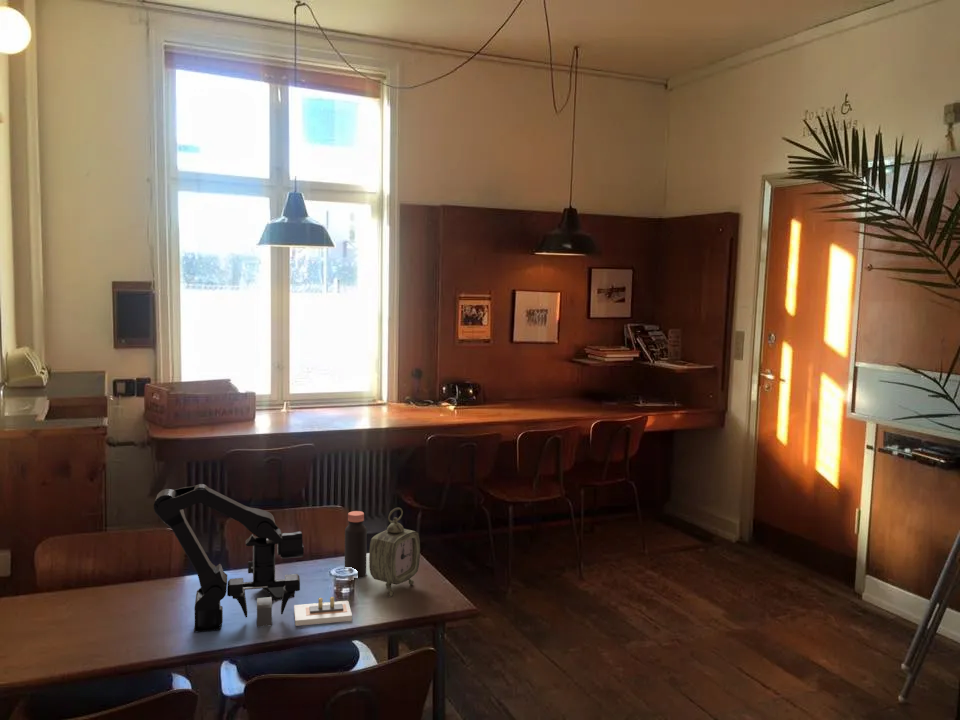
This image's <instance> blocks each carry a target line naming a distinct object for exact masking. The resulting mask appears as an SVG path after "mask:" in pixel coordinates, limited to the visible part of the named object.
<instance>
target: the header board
mask: <svg viewBox="0 0 960 720" xmlns="http://www.w3.org/2000/svg"><path fill="white" fill-rule="evenodd" d="M323 599H324V598H323V597H319V598H318V602H317V603H304V604H293V612H294V613H293V614H294V626H295V627H296V626H297V627H298V626H309V625H321V624H330V623H342V622H352V621H353V613H352V610H351V607H350V602H349V600H340V601H339V600H338V601H335V596H330V599H329V601H328V602H323Z"/></svg>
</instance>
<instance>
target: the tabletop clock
mask: <svg viewBox="0 0 960 720" xmlns="http://www.w3.org/2000/svg"><path fill="white" fill-rule="evenodd" d="M395 511H400V516H399V517H396V516H394V517H393V520H391V516H392V514H393V513H394V512H395ZM403 513H404V511H403V509H402V508H401V507H395V508H393V509H391V510H390V512H389V514H388V522H389V523H390V524H389V525H388V526H387V528H386V530H384V531H381V532H379V533H377V534H375V535H374V536H373V537H372V538H371V539H370V542H369V557H368V558H369V559H368V561H369V565H368V566H369V573H370V575H371V577H372V578H373V580H375V581H376V580H377V581H380V582H384V583H385V587H386V588H387V587H388V588H387V589H388V590H389V591H387V596H388V597H390V598H391V597H393V595H394V592H393V591H392V585H395V586H396V585H400V584H402V583H405V582H407V581H408V584H409V585H410V586H412V585H414V582H415V580H414V579H412V578H413V577H414V576H415V575H416V574H417V573H418V570H419V566H420V560H421V559H420V558H421V557H420V556H421V540H420V539H421V538H420V533H419V531H415V530H411V529H407V528H404V526H403V525H402V523H400V522H399V521H400V520H401V519H402V517H403Z"/></svg>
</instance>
